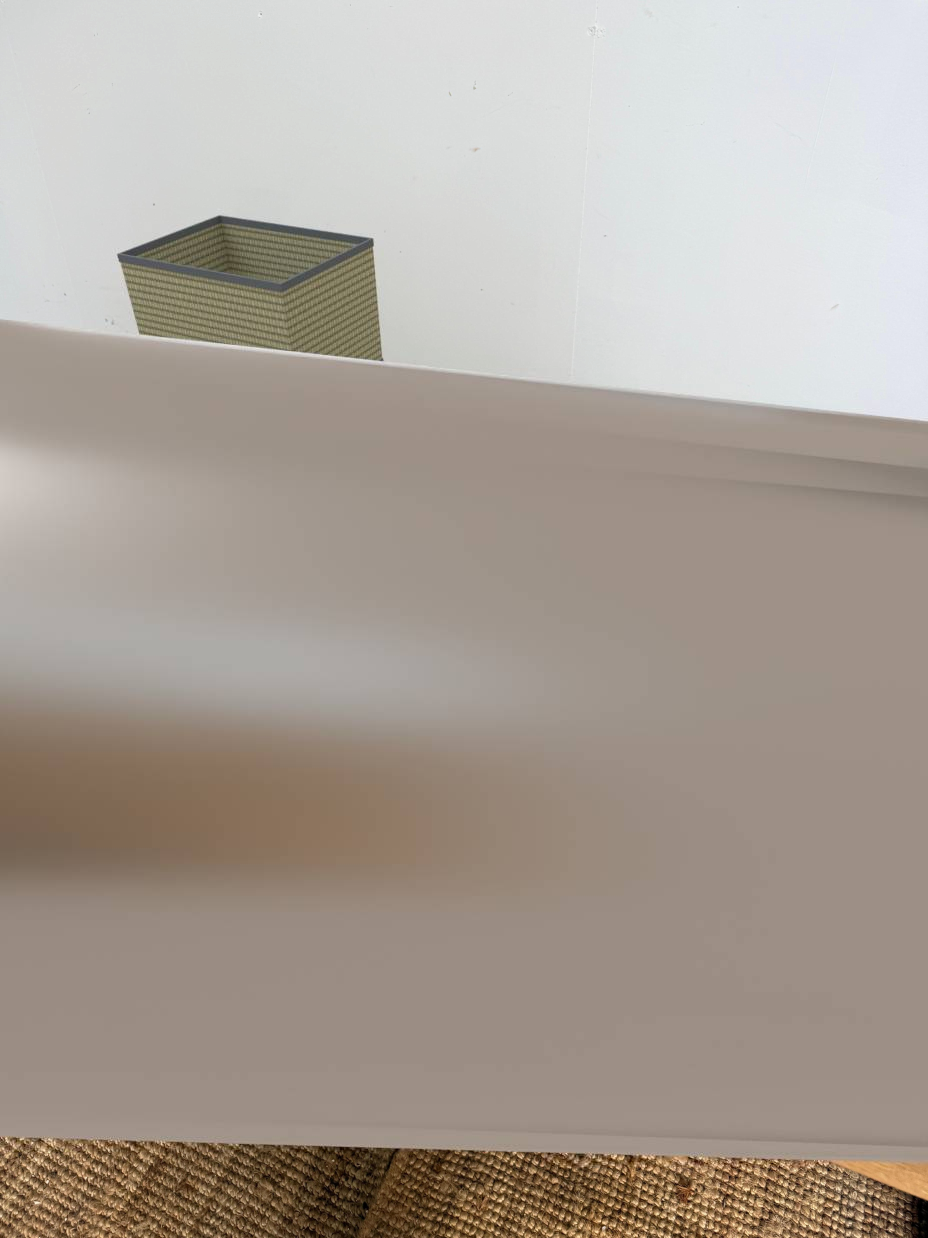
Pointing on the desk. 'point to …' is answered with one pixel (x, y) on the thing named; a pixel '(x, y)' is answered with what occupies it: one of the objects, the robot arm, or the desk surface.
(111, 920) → the robot arm
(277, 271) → the woven storage basket
